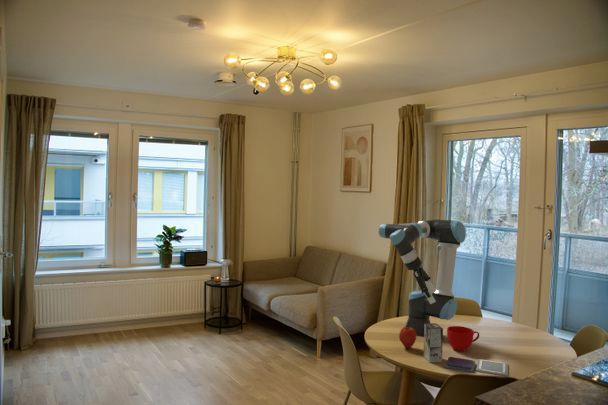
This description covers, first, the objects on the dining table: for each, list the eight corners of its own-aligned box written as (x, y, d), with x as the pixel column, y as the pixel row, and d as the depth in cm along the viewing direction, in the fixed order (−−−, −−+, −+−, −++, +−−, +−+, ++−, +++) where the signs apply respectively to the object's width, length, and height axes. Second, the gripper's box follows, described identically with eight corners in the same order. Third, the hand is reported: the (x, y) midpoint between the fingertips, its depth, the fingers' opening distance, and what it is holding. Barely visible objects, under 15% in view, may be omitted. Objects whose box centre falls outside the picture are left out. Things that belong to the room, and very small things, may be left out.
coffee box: (442, 362, 222) (443, 328, 222) (429, 362, 222) (430, 328, 221) (435, 355, 232) (436, 323, 231) (422, 355, 231) (423, 323, 231)
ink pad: (445, 368, 216) (445, 364, 216) (448, 359, 227) (448, 355, 227) (473, 372, 211) (473, 368, 211) (475, 363, 222) (475, 359, 222)
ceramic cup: (485, 352, 237) (486, 333, 237) (453, 354, 234) (454, 334, 234) (472, 344, 250) (472, 325, 250) (442, 345, 247) (442, 326, 247)
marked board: (475, 371, 213) (476, 369, 213) (478, 360, 227) (478, 358, 227) (507, 376, 208) (507, 374, 208) (507, 364, 221) (507, 363, 221)
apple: (397, 349, 239) (398, 328, 239) (400, 344, 247) (401, 323, 247) (414, 352, 236) (415, 330, 236) (417, 346, 244) (417, 325, 244)
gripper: (416, 264, 217) (440, 304, 217) (419, 249, 241) (440, 285, 241) (402, 271, 220) (425, 310, 220) (406, 255, 243) (427, 291, 243)
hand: (433, 297), depth 230 cm, fingers open, 13 cm apart
